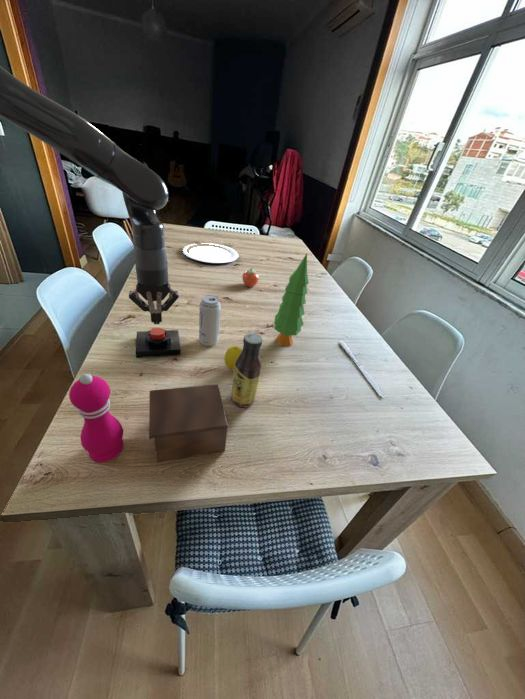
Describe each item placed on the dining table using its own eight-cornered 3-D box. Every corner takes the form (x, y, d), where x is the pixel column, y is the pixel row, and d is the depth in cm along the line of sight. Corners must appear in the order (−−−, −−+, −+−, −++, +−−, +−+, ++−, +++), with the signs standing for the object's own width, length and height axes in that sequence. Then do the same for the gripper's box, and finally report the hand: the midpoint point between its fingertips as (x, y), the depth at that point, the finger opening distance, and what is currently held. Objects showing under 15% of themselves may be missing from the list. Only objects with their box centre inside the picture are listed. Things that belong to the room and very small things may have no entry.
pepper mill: (87, 437, 60) (61, 363, 48) (125, 430, 63) (110, 358, 51) (84, 469, 55) (54, 394, 43) (126, 459, 58) (109, 387, 46)
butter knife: (345, 340, 104) (338, 340, 103) (387, 396, 83) (378, 396, 82) (345, 341, 104) (337, 341, 103) (386, 397, 84) (377, 397, 83)
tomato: (260, 285, 132) (263, 268, 127) (252, 290, 127) (255, 273, 122) (246, 280, 134) (248, 263, 130) (238, 285, 129) (239, 268, 124)
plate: (246, 254, 163) (246, 250, 162) (225, 270, 140) (225, 267, 139) (198, 242, 168) (198, 239, 167) (170, 256, 144) (170, 252, 143)
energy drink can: (197, 336, 94) (198, 294, 85) (216, 335, 96) (218, 294, 87) (200, 348, 89) (201, 304, 80) (220, 346, 91) (223, 304, 83)
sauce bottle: (228, 392, 76) (234, 328, 64) (251, 389, 78) (261, 327, 66) (233, 411, 71) (242, 346, 60) (258, 408, 73) (270, 344, 62)
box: (157, 462, 58) (154, 438, 53) (156, 417, 67) (153, 393, 62) (224, 451, 62) (227, 428, 58) (216, 410, 71) (217, 386, 66)
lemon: (236, 361, 87) (239, 339, 82) (246, 372, 83) (249, 350, 79) (220, 366, 84) (221, 343, 79) (229, 378, 81) (231, 355, 76)
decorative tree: (300, 338, 102) (323, 253, 84) (294, 353, 94) (318, 263, 77) (273, 330, 103) (290, 245, 86) (266, 344, 96) (283, 254, 78)
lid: (149, 439, 53) (149, 436, 53) (149, 393, 62) (149, 390, 61) (227, 427, 58) (227, 425, 57) (217, 386, 66) (217, 384, 66)
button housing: (136, 358, 82) (134, 346, 79) (137, 337, 89) (136, 326, 87) (180, 355, 85) (180, 344, 83) (178, 335, 93) (178, 325, 90)
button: (150, 340, 83) (149, 335, 82) (150, 332, 86) (149, 327, 85) (165, 339, 84) (164, 334, 83) (164, 332, 87) (164, 327, 86)
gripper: (178, 258, 77) (180, 315, 87) (123, 256, 73) (132, 316, 83) (180, 270, 71) (182, 329, 82) (120, 268, 67) (130, 331, 78)
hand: (156, 322), depth 82 cm, fingers closed
